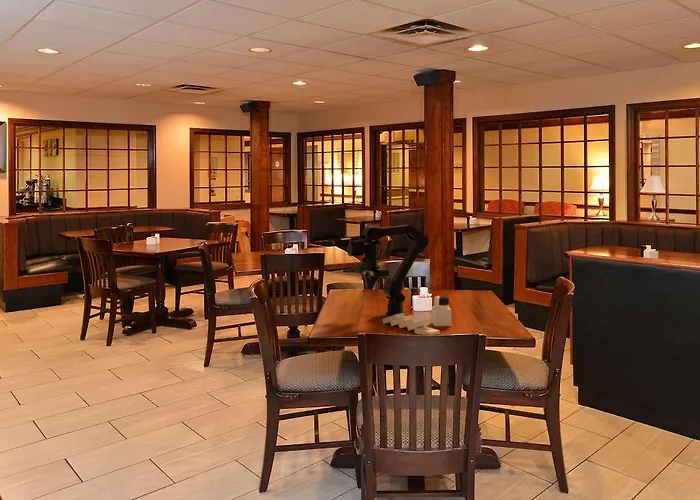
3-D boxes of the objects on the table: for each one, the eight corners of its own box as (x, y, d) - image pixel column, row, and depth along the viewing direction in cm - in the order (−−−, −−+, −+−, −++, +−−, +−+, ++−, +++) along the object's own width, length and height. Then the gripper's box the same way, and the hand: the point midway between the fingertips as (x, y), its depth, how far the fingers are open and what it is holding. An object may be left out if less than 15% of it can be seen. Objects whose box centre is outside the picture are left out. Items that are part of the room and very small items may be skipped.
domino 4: (414, 328, 249) (430, 332, 242) (423, 326, 252) (439, 330, 245) (414, 333, 249) (430, 337, 242) (423, 331, 252) (439, 335, 245)
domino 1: (390, 321, 261) (403, 316, 254) (399, 319, 264) (412, 314, 257) (391, 326, 260) (404, 321, 253) (400, 324, 263) (413, 319, 256)
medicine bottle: (448, 322, 266) (448, 294, 265) (451, 326, 259) (451, 298, 258) (431, 322, 266) (431, 294, 265) (434, 326, 259) (434, 298, 257)
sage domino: (382, 319, 265) (395, 314, 258) (391, 317, 268) (404, 312, 261) (383, 323, 264) (396, 319, 257) (392, 322, 267) (405, 317, 260)
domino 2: (398, 323, 256) (411, 318, 250) (407, 322, 259) (421, 316, 253) (399, 328, 256) (413, 323, 249) (408, 326, 259) (422, 321, 252)
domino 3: (406, 325, 252) (421, 320, 245) (415, 323, 255) (430, 318, 248) (408, 330, 252) (422, 325, 245) (417, 328, 255) (431, 323, 248)
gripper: (343, 254, 277) (343, 289, 279) (369, 259, 262) (369, 295, 264) (362, 252, 284) (363, 286, 286) (389, 256, 269) (389, 292, 271)
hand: (370, 289), depth 276 cm, fingers closed
